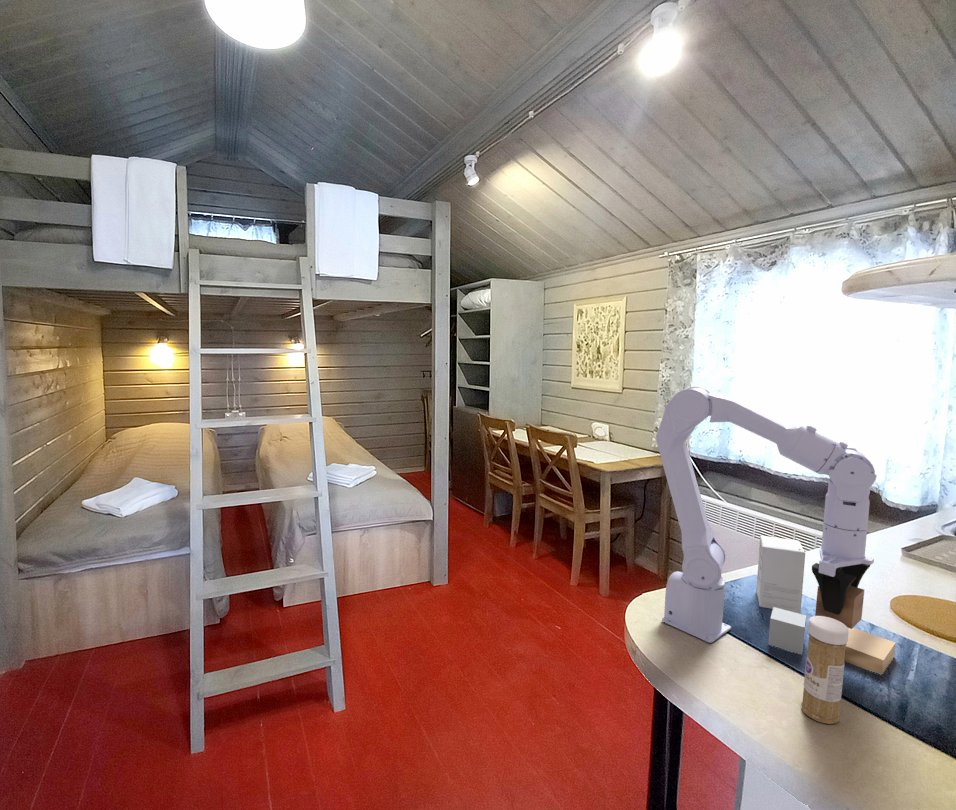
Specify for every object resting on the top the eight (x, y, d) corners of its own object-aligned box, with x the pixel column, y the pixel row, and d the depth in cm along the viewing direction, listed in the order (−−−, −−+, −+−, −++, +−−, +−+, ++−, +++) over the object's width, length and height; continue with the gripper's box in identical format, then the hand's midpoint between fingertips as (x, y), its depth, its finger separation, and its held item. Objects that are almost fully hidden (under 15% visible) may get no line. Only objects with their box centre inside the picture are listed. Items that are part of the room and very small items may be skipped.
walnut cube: (815, 615, 84) (817, 586, 83) (825, 607, 87) (828, 578, 87) (851, 628, 80) (854, 598, 80) (861, 619, 83) (864, 589, 83)
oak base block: (823, 654, 87) (824, 638, 87) (837, 638, 92) (839, 622, 92) (881, 678, 81) (883, 660, 81) (893, 659, 86) (895, 642, 86)
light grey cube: (768, 645, 89) (770, 618, 89) (771, 633, 93) (773, 606, 93) (802, 655, 86) (804, 627, 86) (803, 642, 90) (806, 615, 90)
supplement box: (795, 599, 106) (800, 540, 105) (801, 615, 100) (806, 552, 99) (755, 591, 110) (759, 534, 108) (757, 607, 103) (762, 545, 102)
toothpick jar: (793, 704, 74) (801, 614, 73) (822, 702, 74) (831, 613, 73) (817, 727, 69) (826, 632, 68) (848, 725, 70) (857, 631, 69)
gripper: (861, 542, 75) (853, 631, 76) (888, 523, 84) (880, 603, 85) (806, 529, 80) (799, 612, 81) (837, 512, 89) (831, 587, 90)
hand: (837, 606), depth 84 cm, fingers closed on walnut cube, 5 cm apart
